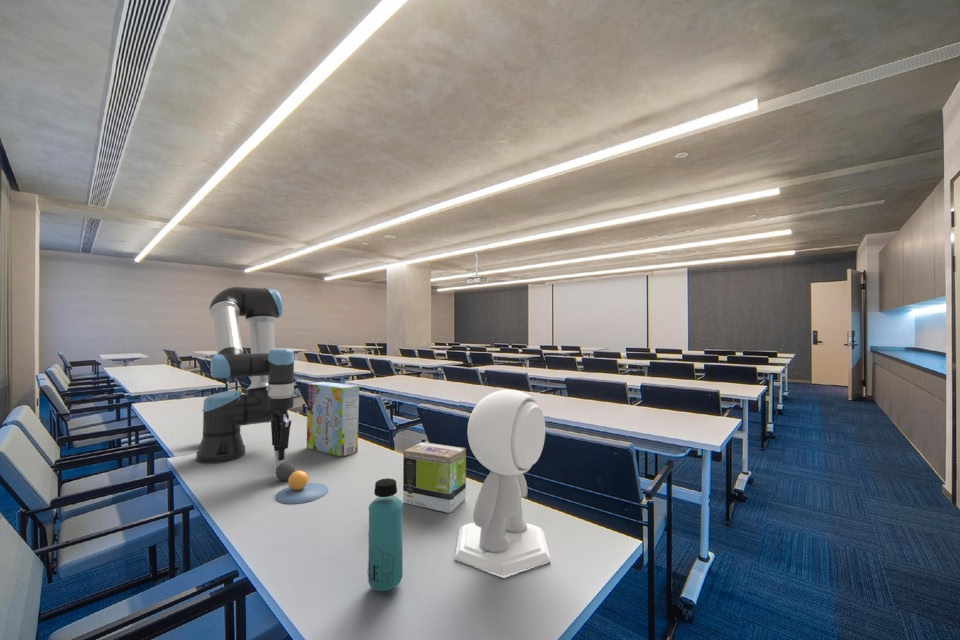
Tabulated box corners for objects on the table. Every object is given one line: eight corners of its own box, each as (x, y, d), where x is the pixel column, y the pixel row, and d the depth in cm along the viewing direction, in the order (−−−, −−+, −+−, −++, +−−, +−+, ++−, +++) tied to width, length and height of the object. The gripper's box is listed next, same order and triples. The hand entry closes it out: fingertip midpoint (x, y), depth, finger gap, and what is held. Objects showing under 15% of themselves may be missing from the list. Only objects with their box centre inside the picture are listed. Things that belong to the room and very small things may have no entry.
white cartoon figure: (530, 590, 74) (531, 402, 75) (433, 551, 86) (435, 390, 87) (566, 541, 91) (568, 388, 91) (481, 515, 103) (483, 380, 104)
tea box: (466, 499, 112) (467, 447, 112) (449, 515, 103) (449, 457, 103) (421, 489, 119) (422, 440, 119) (401, 503, 109) (402, 449, 110)
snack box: (359, 452, 153) (360, 385, 153) (341, 458, 145) (342, 388, 146) (323, 442, 164) (324, 380, 164) (304, 448, 157) (305, 382, 157)
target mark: (295, 482, 123) (295, 481, 123) (337, 485, 121) (337, 484, 121) (263, 501, 109) (263, 501, 109) (310, 506, 107) (310, 505, 107)
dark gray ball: (290, 462, 123) (292, 480, 122) (296, 459, 128) (298, 476, 127) (272, 465, 122) (273, 484, 121) (278, 462, 127) (279, 479, 127)
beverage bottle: (409, 581, 76) (410, 476, 76) (390, 604, 70) (391, 490, 70) (379, 574, 78) (381, 472, 79) (359, 595, 72) (360, 485, 72)
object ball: (297, 463, 120) (304, 471, 116) (307, 475, 122) (314, 482, 118) (281, 478, 117) (288, 486, 113) (291, 489, 119) (298, 497, 116)
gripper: (261, 395, 131) (260, 466, 131) (274, 400, 122) (273, 478, 121) (285, 392, 136) (284, 461, 136) (300, 397, 127) (299, 471, 127)
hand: (279, 469), depth 129 cm, fingers closed
